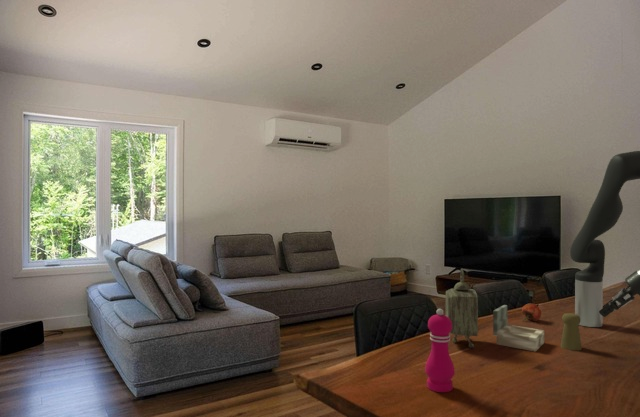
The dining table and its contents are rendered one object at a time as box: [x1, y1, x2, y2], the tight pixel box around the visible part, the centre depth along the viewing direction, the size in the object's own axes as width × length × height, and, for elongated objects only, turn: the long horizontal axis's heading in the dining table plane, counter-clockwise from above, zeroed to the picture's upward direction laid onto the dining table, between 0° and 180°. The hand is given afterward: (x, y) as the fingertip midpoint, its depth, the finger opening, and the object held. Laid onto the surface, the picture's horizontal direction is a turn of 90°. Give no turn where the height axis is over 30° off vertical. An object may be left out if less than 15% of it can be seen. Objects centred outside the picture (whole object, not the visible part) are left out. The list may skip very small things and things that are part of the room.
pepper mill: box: [424, 308, 456, 393], centre depth 114 cm, size 7×7×20 cm
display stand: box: [492, 304, 545, 353], centre depth 151 cm, size 12×13×11 cm
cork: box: [560, 312, 583, 351], centre depth 147 cm, size 6×6×11 cm
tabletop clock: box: [445, 268, 479, 349], centre depth 151 cm, size 14×9×25 cm, turn 168°
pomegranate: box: [521, 303, 542, 322], centre depth 181 cm, size 7×7×10 cm
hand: (603, 311), depth 141 cm, fingers open, 8 cm apart
